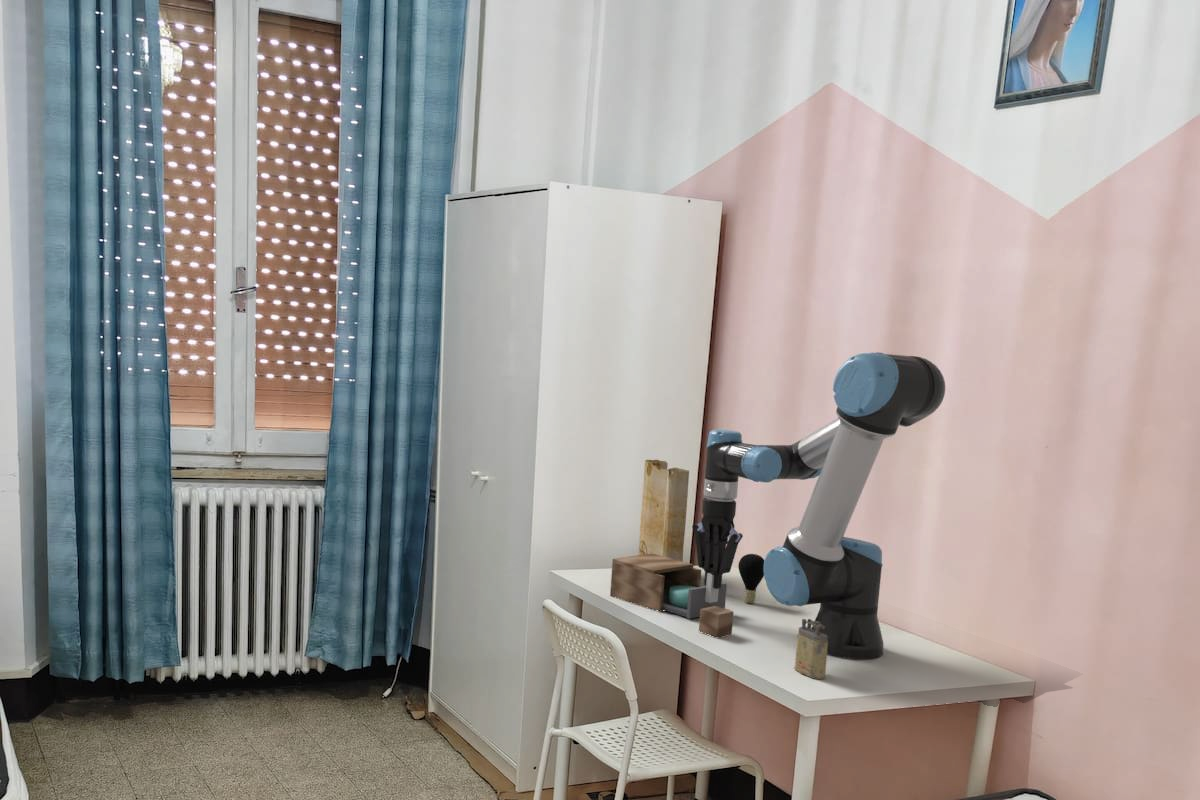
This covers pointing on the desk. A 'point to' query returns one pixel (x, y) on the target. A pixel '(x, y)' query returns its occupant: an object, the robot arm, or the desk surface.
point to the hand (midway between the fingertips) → (711, 601)
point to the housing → (650, 578)
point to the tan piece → (663, 510)
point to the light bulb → (751, 574)
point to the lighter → (811, 650)
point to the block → (716, 621)
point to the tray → (695, 601)
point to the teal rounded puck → (679, 596)
